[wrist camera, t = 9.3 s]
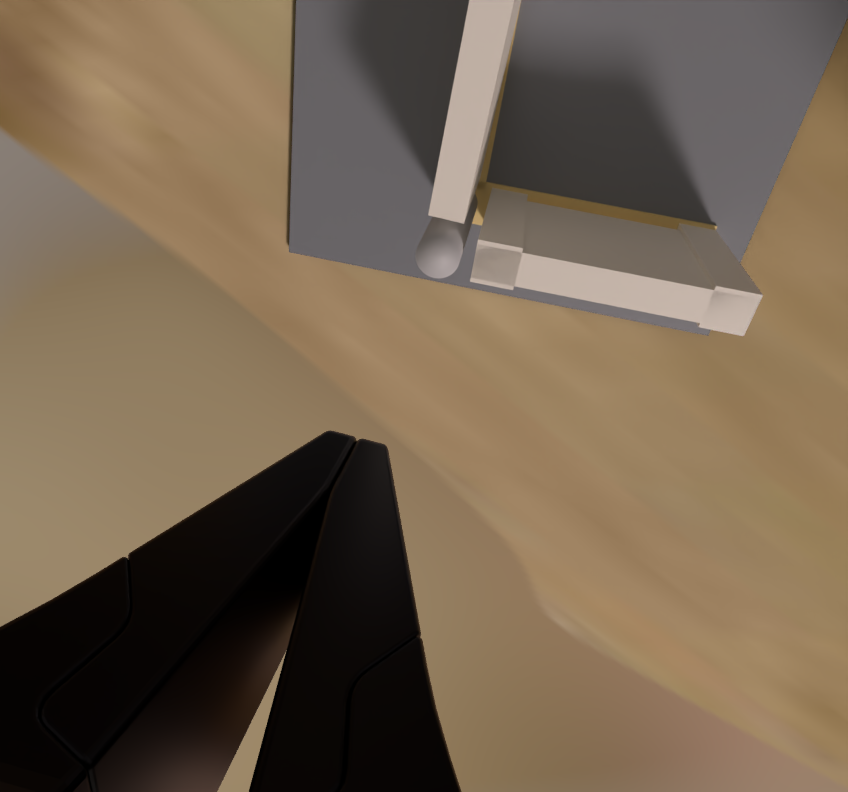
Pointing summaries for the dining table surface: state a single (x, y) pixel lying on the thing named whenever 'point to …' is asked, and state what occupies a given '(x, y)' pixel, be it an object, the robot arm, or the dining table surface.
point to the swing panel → (467, 133)
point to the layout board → (550, 119)
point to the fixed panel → (614, 262)
